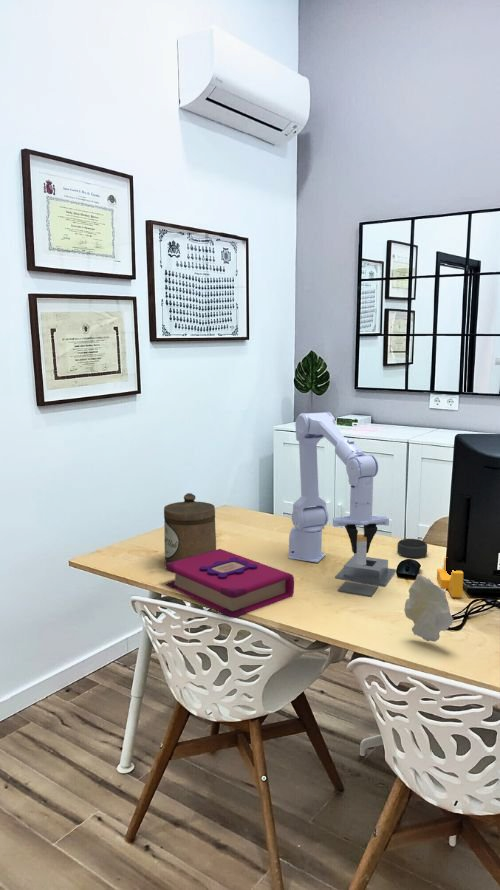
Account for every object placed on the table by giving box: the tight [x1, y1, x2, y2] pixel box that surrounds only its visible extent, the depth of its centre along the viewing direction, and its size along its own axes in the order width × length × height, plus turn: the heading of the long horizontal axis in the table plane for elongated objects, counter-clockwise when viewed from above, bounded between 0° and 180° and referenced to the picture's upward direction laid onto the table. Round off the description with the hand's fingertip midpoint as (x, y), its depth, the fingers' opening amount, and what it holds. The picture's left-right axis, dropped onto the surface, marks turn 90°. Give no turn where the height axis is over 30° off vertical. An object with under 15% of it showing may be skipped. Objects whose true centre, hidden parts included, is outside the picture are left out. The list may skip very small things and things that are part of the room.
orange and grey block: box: [353, 533, 367, 565], centre depth 171 cm, size 3×3×8 cm
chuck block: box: [334, 555, 397, 587], centre depth 182 cm, size 14×13×4 cm
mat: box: [337, 580, 379, 598], centre depth 171 cm, size 9×7×1 cm
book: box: [165, 548, 295, 618], centre depth 169 cm, size 21×28×8 cm
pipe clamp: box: [436, 557, 464, 598], centre depth 172 cm, size 12×4×6 cm, turn 174°
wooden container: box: [163, 492, 217, 567], centre depth 186 cm, size 15×15×22 cm
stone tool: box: [404, 573, 454, 643], centre depth 141 cm, size 11×4×15 cm, turn 51°
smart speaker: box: [397, 538, 428, 559], centre depth 200 cm, size 9×9×4 cm
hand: (360, 552), depth 171 cm, fingers closed on orange and grey block, 2 cm apart
